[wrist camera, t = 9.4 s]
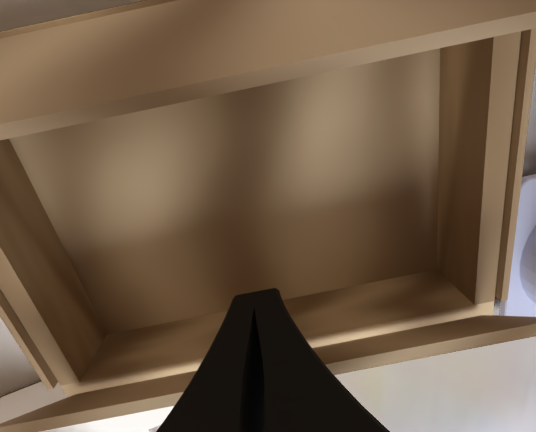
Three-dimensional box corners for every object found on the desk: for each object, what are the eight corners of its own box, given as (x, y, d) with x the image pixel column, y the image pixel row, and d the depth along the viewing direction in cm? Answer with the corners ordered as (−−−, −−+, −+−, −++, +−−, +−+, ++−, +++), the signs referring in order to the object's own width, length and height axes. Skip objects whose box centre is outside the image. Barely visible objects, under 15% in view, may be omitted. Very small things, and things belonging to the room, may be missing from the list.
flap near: (513, -58, 8) (519, -73, 8) (652, 3, 6) (668, -18, 5) (-116, 77, 8) (-130, 66, 8) (-241, 190, 6) (-266, 180, 6)
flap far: (566, 317, 9) (572, 329, 8) (482, 315, 12) (484, 323, 12) (-18, 430, 9) (-19, 442, 9) (76, 394, 13) (76, 402, 13)
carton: (467, -44, 11) (554, -98, 8) (454, 275, 16) (504, 320, 13) (-52, 68, 11) (-168, 59, 8) (95, 346, 16) (58, 406, 13)
